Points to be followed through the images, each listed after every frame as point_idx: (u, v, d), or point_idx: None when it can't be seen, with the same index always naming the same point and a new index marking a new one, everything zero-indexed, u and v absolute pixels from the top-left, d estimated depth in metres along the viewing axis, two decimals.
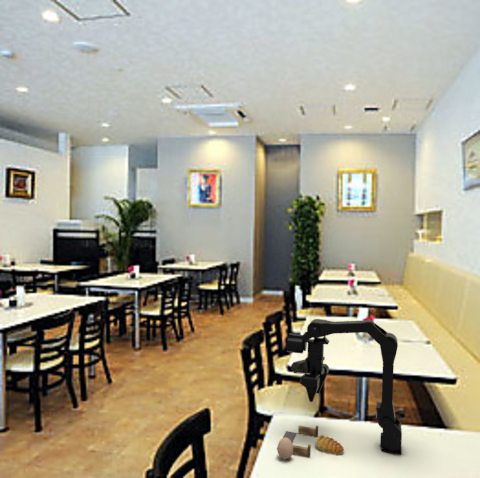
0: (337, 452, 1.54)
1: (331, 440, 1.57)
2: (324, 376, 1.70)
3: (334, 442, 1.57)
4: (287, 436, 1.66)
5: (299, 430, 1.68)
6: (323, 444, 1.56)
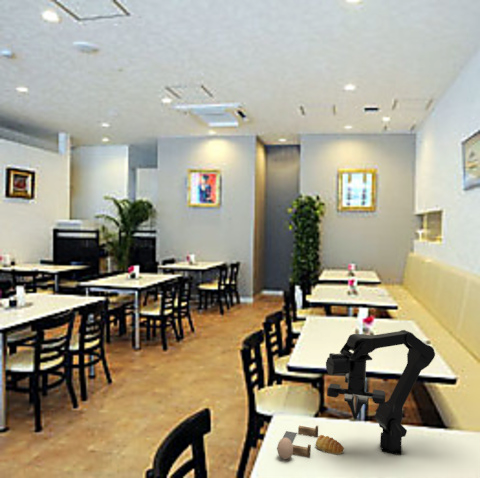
0: (337, 452, 1.54)
1: (331, 440, 1.58)
2: (357, 402, 1.52)
3: (334, 441, 1.57)
4: (287, 436, 1.66)
5: (299, 430, 1.68)
6: (323, 444, 1.56)
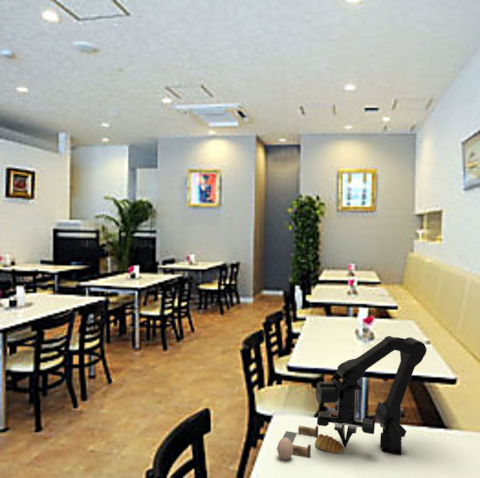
0: (337, 451, 1.55)
1: (330, 439, 1.58)
2: None
3: (333, 440, 1.58)
4: (287, 436, 1.66)
5: (299, 430, 1.68)
6: (323, 443, 1.57)
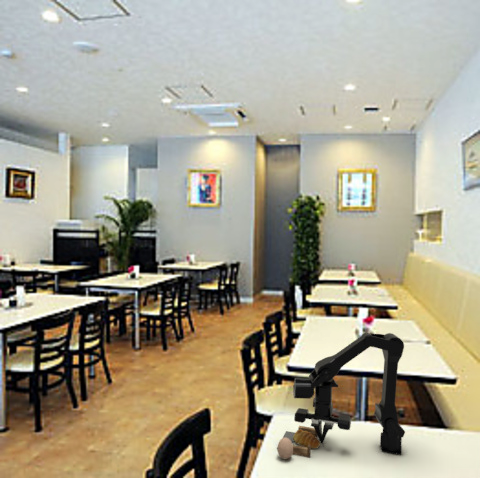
0: (312, 446, 1.57)
1: (308, 434, 1.61)
2: (323, 427, 1.56)
3: (311, 436, 1.60)
4: (287, 436, 1.66)
5: None
6: (300, 438, 1.60)
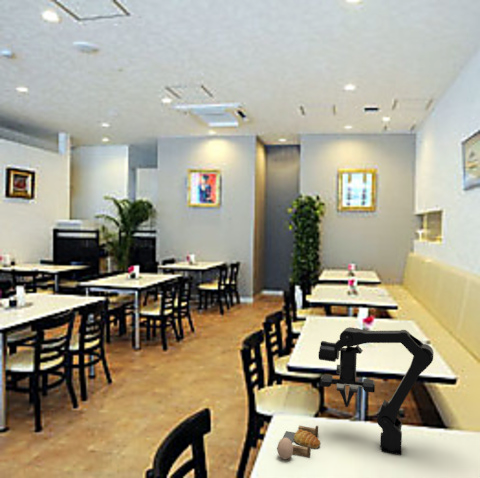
0: (313, 446, 1.58)
1: (309, 434, 1.61)
2: None
3: (311, 436, 1.61)
4: (287, 436, 1.66)
5: None
6: (300, 438, 1.60)
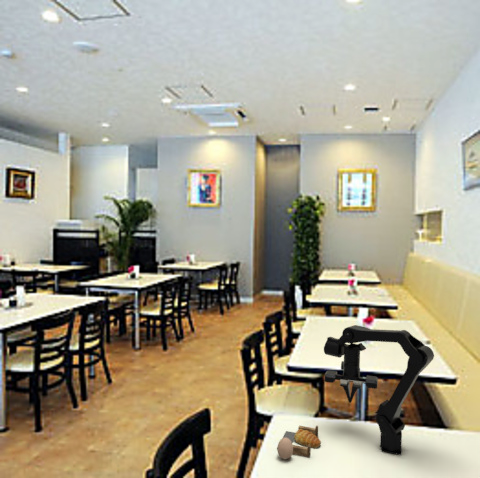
0: (313, 446, 1.58)
1: (309, 434, 1.62)
2: (352, 387, 1.66)
3: (311, 435, 1.61)
4: (287, 436, 1.66)
5: None
6: (301, 437, 1.61)
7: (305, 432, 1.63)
